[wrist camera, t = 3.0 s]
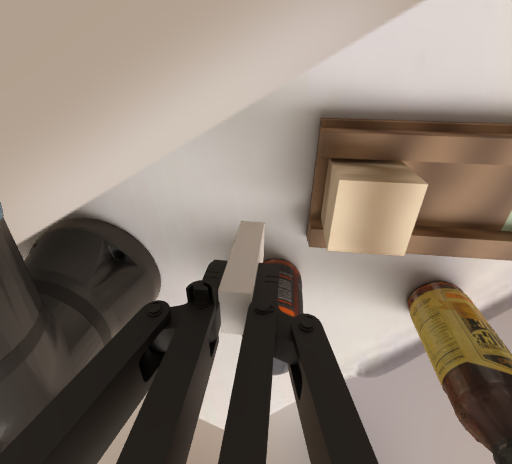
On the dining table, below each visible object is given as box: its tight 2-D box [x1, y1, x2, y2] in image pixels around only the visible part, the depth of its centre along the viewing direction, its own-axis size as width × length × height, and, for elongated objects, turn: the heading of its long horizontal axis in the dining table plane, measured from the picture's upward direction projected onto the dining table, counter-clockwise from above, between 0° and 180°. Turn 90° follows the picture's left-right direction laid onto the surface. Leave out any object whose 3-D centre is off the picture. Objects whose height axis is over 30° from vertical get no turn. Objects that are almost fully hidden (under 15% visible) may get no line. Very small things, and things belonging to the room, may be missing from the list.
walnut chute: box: [307, 118, 512, 261], centre depth 25 cm, size 24×12×3 cm, turn 89°
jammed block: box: [321, 158, 428, 256], centre depth 24 cm, size 6×6×6 cm
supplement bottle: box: [242, 259, 303, 375], centre depth 29 cm, size 6×6×11 cm
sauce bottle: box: [408, 281, 512, 464], centre depth 25 cm, size 7×6×20 cm
